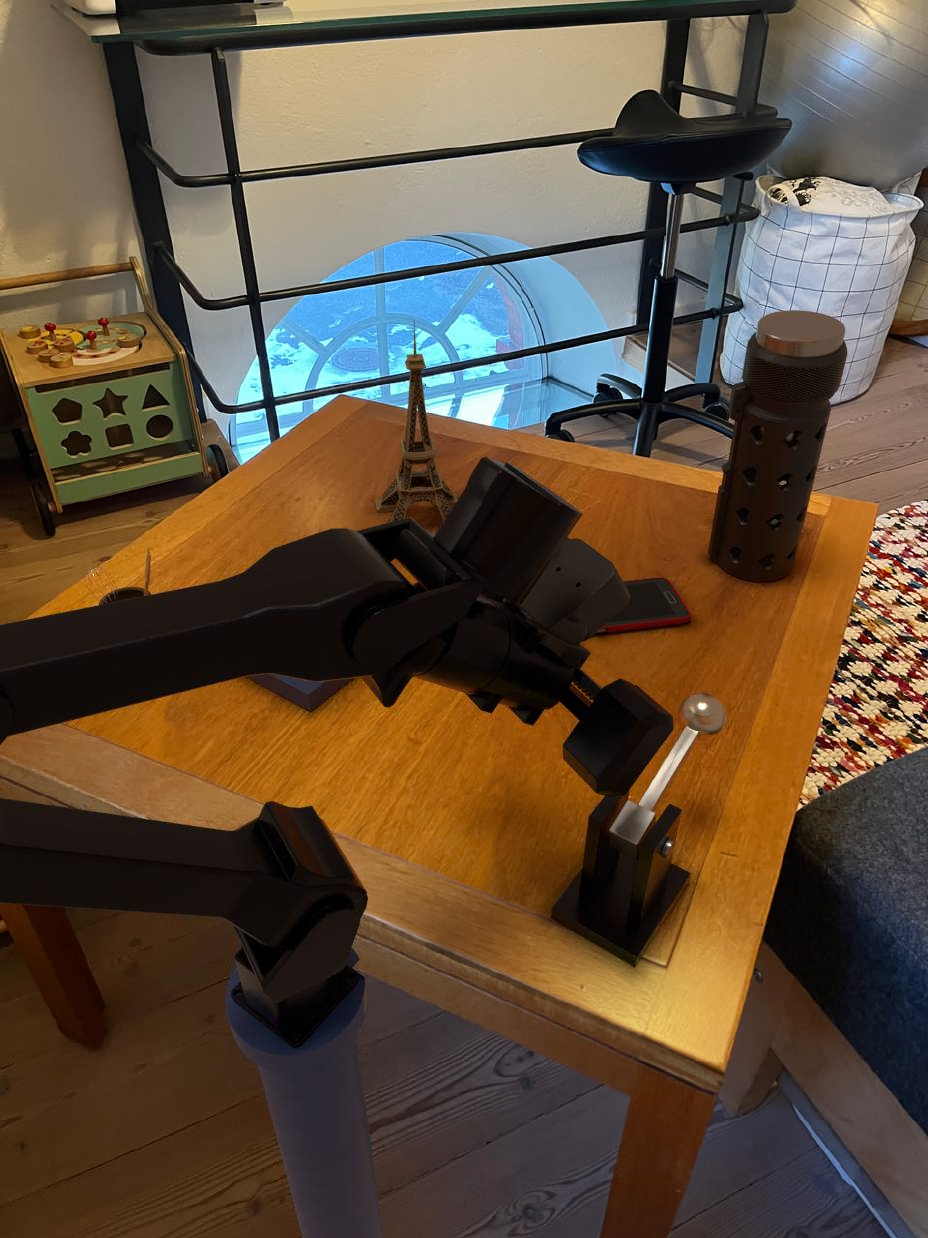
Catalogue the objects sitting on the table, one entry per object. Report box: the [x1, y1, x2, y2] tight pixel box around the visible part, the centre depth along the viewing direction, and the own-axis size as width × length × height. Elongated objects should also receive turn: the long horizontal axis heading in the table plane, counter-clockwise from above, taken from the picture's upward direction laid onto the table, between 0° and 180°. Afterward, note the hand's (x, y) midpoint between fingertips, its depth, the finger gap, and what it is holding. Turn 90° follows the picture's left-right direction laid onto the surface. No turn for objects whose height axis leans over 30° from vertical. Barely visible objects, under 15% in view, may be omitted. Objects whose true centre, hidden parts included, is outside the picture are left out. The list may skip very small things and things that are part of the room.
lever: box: [609, 692, 727, 860], centre depth 67 cm, size 14×4×4 cm, turn 144°
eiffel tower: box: [374, 321, 459, 523], centre depth 107 cm, size 11×11×25 cm
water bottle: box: [707, 309, 848, 583], centre depth 98 cm, size 10×28×10 cm
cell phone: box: [595, 577, 692, 634], centre depth 98 cm, size 8×15×1 cm, turn 101°
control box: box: [246, 674, 354, 712], centre depth 91 cm, size 12×10×4 cm
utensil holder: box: [84, 546, 152, 605], centre depth 89 cm, size 6×6×12 cm
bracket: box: [550, 789, 692, 968], centre depth 66 cm, size 9×7×10 cm
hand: (616, 698), depth 66 cm, fingers open, 9 cm apart
